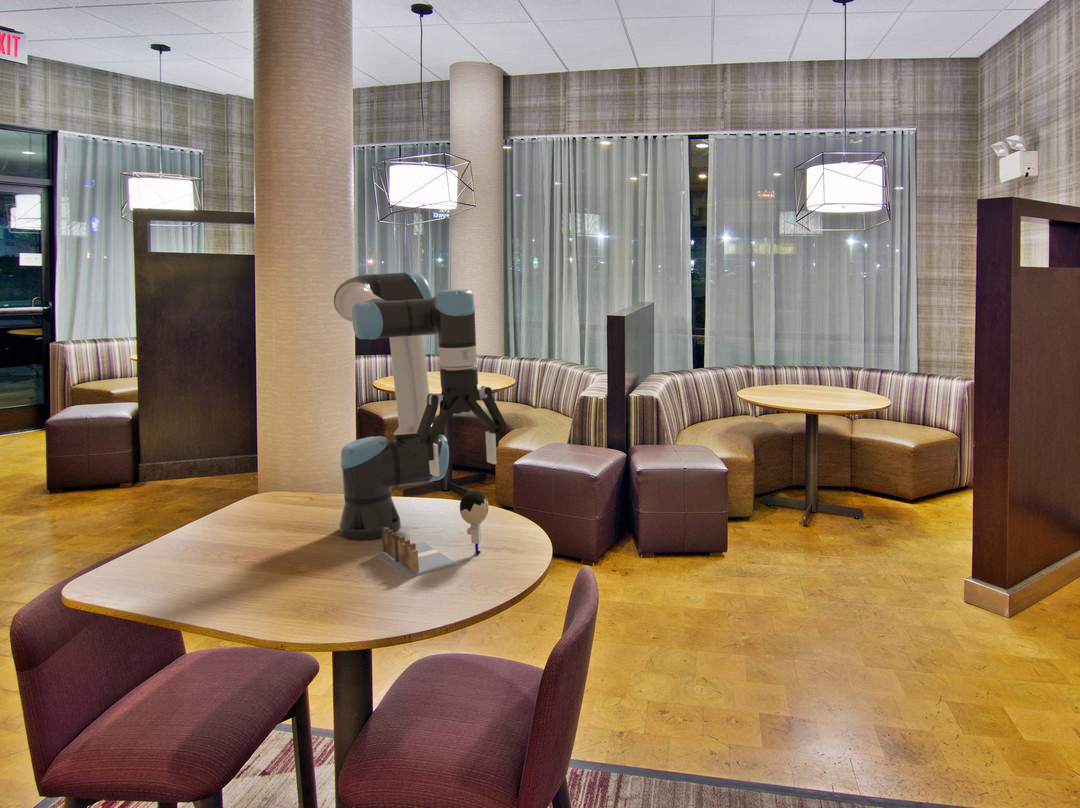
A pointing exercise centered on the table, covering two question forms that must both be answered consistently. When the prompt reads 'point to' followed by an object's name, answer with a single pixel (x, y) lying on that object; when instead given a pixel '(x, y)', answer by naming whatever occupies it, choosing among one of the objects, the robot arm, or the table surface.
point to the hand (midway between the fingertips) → (463, 468)
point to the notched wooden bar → (408, 554)
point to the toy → (474, 514)
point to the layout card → (420, 561)
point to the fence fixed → (390, 542)
